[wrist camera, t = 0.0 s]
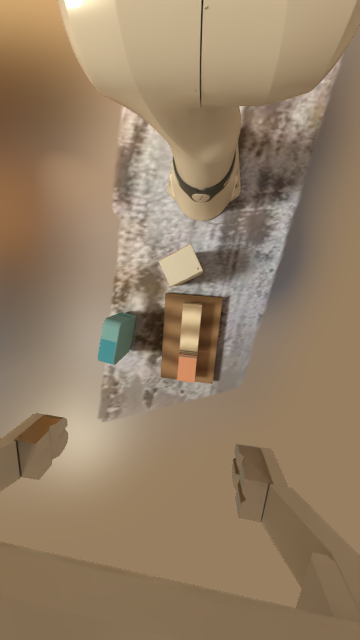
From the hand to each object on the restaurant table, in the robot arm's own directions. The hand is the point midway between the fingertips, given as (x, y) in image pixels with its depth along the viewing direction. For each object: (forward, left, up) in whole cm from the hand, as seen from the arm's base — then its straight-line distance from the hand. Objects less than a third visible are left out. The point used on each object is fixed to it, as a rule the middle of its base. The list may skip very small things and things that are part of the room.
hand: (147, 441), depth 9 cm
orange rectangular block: (+17, 0, -46) cm, 49 cm away
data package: (+9, -20, -48) cm, 53 cm away
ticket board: (+9, 0, -48) cm, 49 cm away
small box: (-11, -3, -48) cm, 49 cm away
